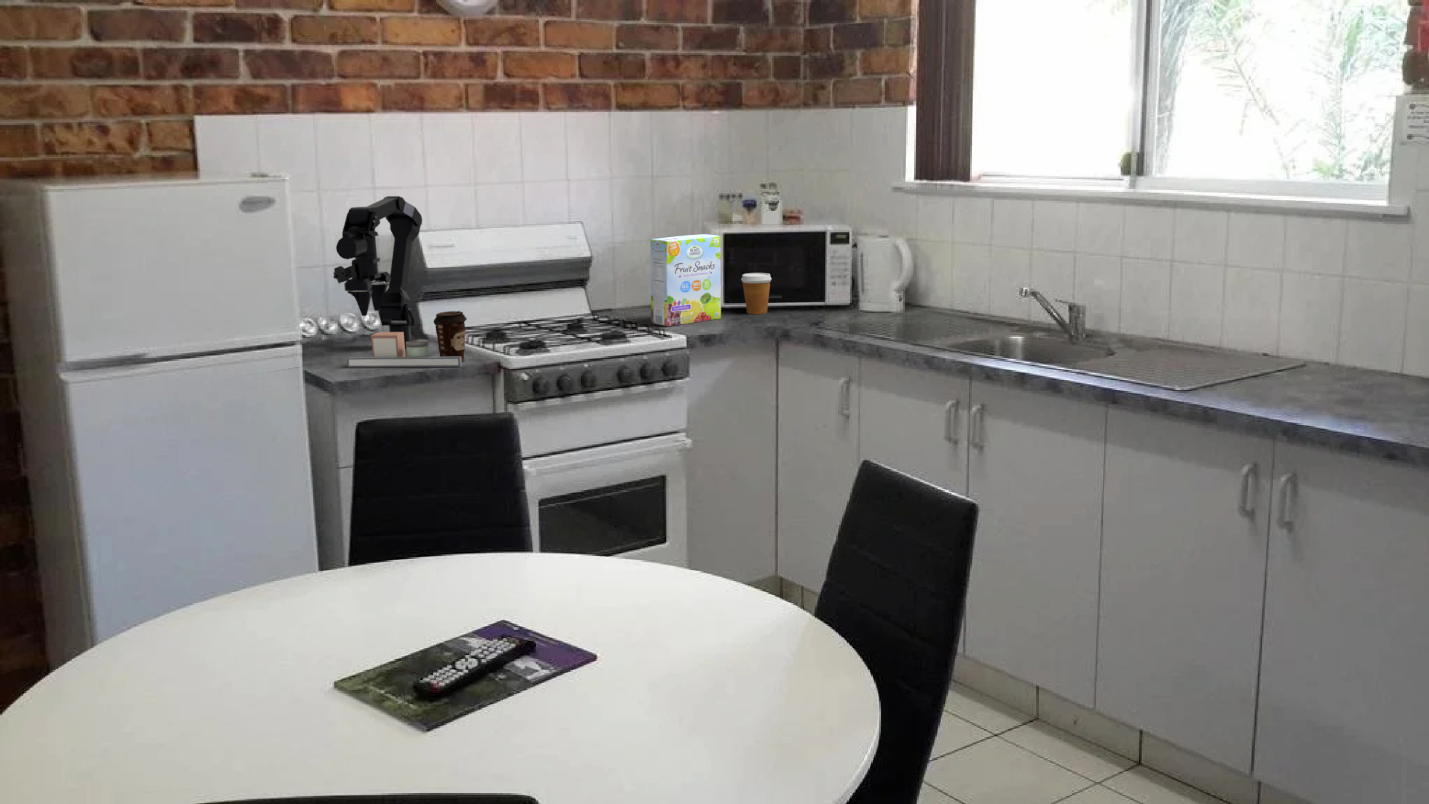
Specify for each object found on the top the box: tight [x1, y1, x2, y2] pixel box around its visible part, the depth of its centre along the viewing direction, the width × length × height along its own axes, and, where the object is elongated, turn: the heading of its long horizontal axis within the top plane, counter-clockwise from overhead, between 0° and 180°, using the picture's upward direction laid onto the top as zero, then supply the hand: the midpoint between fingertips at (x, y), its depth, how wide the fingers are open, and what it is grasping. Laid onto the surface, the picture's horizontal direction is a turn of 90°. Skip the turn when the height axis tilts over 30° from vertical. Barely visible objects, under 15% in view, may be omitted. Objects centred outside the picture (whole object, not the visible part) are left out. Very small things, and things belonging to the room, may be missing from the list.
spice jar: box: [406, 339, 430, 357], centre depth 352 cm, size 6×6×6 cm
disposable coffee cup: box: [740, 272, 772, 315], centre depth 422 cm, size 10×10×12 cm
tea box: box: [370, 331, 406, 357], centre depth 354 cm, size 5×7×8 cm
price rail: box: [346, 356, 463, 368], centre depth 349 cm, size 2×30×2 cm, turn 84°
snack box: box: [649, 233, 722, 327], centre depth 407 cm, size 22×9×26 cm, turn 131°
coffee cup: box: [433, 310, 468, 363], centre depth 353 cm, size 9×8×13 cm
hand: (370, 313), depth 361 cm, fingers open, 9 cm apart
